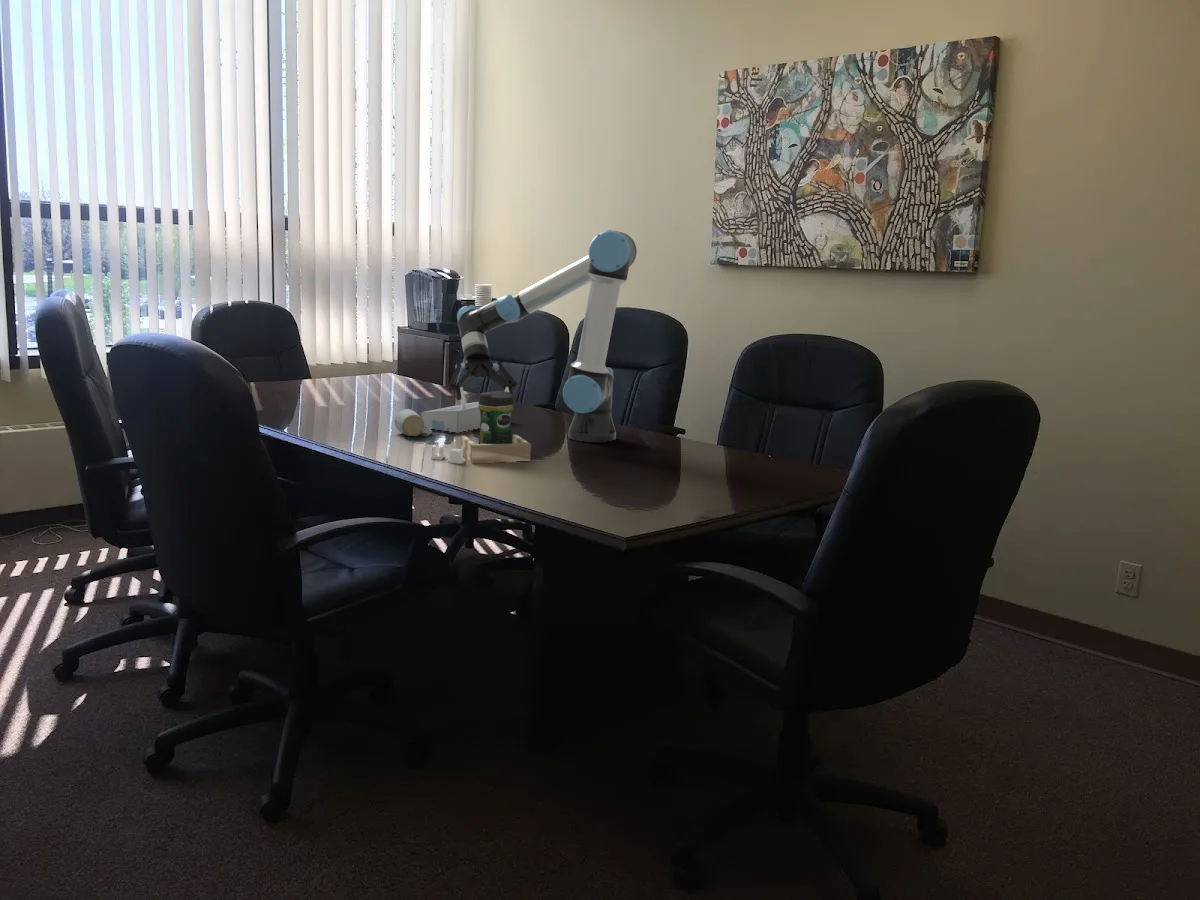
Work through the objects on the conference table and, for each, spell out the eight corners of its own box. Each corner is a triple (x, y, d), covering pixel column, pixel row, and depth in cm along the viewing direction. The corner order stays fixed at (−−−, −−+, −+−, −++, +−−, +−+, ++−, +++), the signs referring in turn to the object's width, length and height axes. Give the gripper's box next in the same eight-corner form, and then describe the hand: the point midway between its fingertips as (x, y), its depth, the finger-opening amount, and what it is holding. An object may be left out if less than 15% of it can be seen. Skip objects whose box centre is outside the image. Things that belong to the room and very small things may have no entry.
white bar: (473, 418, 338) (473, 396, 336) (508, 423, 331) (508, 401, 330) (420, 429, 311) (421, 406, 310) (457, 434, 305) (458, 411, 304)
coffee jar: (499, 452, 278) (501, 388, 275) (517, 457, 273) (519, 392, 269) (472, 456, 271) (473, 390, 268) (489, 460, 266) (491, 394, 262)
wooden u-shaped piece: (460, 452, 275) (460, 435, 274) (516, 451, 281) (516, 434, 280) (472, 463, 261) (472, 445, 260) (530, 461, 267) (530, 444, 266)
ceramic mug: (402, 438, 293) (403, 413, 292) (394, 433, 300) (394, 408, 299) (435, 437, 298) (436, 412, 297) (426, 432, 305) (427, 408, 304)
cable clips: (437, 455, 269) (437, 443, 269) (470, 462, 263) (470, 449, 262) (425, 458, 265) (425, 446, 265) (458, 464, 259) (458, 452, 258)
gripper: (513, 358, 297) (525, 414, 286) (432, 358, 288) (442, 416, 277) (518, 343, 291) (531, 399, 280) (436, 342, 282) (446, 400, 271)
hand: (487, 407), depth 278 cm, fingers open, 13 cm apart
